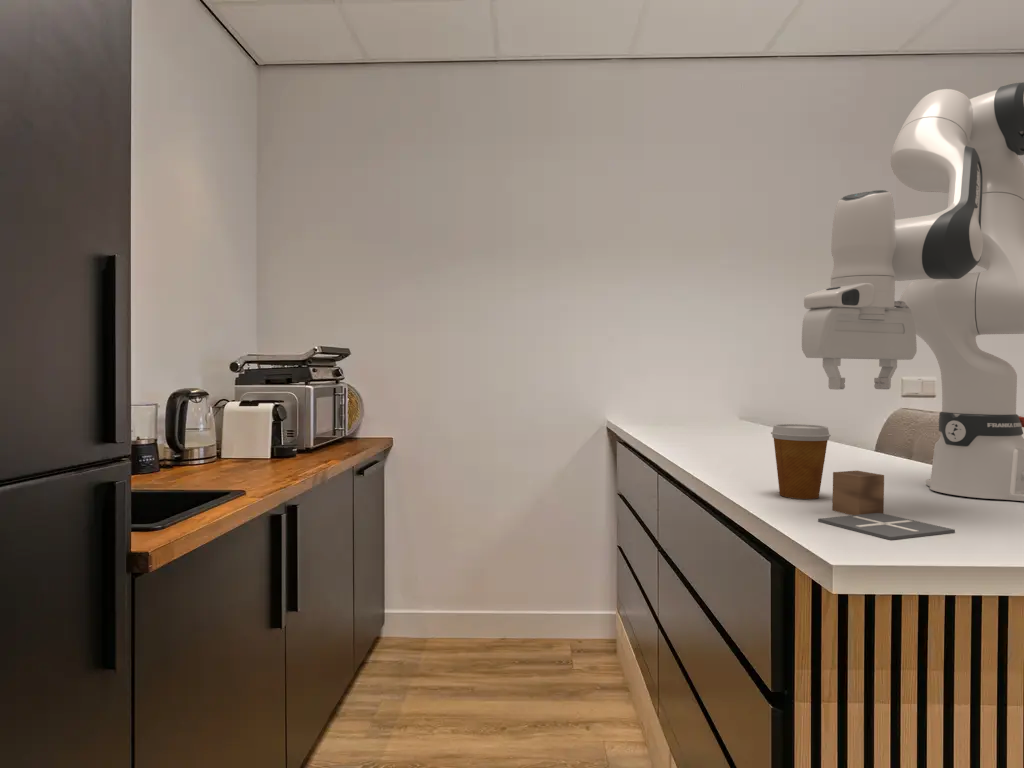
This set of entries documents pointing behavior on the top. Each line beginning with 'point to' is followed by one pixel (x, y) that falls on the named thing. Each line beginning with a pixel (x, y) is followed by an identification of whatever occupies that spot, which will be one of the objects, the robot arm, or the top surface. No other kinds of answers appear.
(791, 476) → the disposable coffee cup
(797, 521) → the top surface
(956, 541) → the top surface
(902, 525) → the pad
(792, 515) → the top surface
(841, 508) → the walnut block
